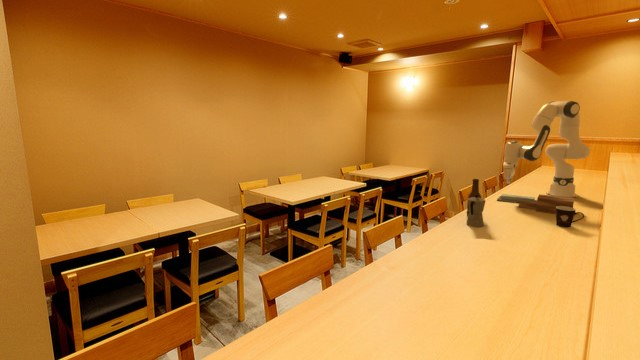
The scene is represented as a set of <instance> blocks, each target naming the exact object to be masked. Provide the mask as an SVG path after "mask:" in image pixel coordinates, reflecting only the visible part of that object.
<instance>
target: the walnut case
mask: <svg viewBox="0 0 640 360" xmlns="http://www.w3.org/2000/svg"><path fill="white" fill-rule="evenodd" d="M536 200H537V202H530V201H522V200H520V201H519V203H518V208H521V209H528V210H535V211H536V212H538V213H549V214H553V215H554V214H555V215H556V207H557V206H566V207H571V208H574V203H575V197H560V196H553V195H549V194H538V197H537V198H536Z"/></svg>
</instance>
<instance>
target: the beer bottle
mask: <svg viewBox="0 0 640 360" xmlns="http://www.w3.org/2000/svg"><path fill="white" fill-rule="evenodd" d="M479 182H480V180H479V179H478V178H473V179H472V187H471V191H470V192H469V194H468V196H467V199H468V198H472V197H476V196H475V195H476V194H478V197H479V198H482V195H481V193H480V190H479V189H480V188H479V187H480V186H479V184H480V183H479ZM468 214H469V206H468V202H467V207H466V217H467V218H468Z"/></svg>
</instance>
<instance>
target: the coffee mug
mask: <svg viewBox="0 0 640 360" xmlns="http://www.w3.org/2000/svg"><path fill="white" fill-rule="evenodd" d="M576 210H577V209H576V208H574V207H573V208H571V207H566V206H557V207H556V214H555V222H556V226H557V227H559V228H560V227H561V228H566V229H567V228H569V229H570V228H571V227H572V224H573V223H576V222H578V221H581V220H583V219H584V217H585V214H584V213H583V212H581V211H578V212H576ZM577 214H581V215H582V217H581V218H579V219H575V220H574V217H575V216H576V215H577Z"/></svg>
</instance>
